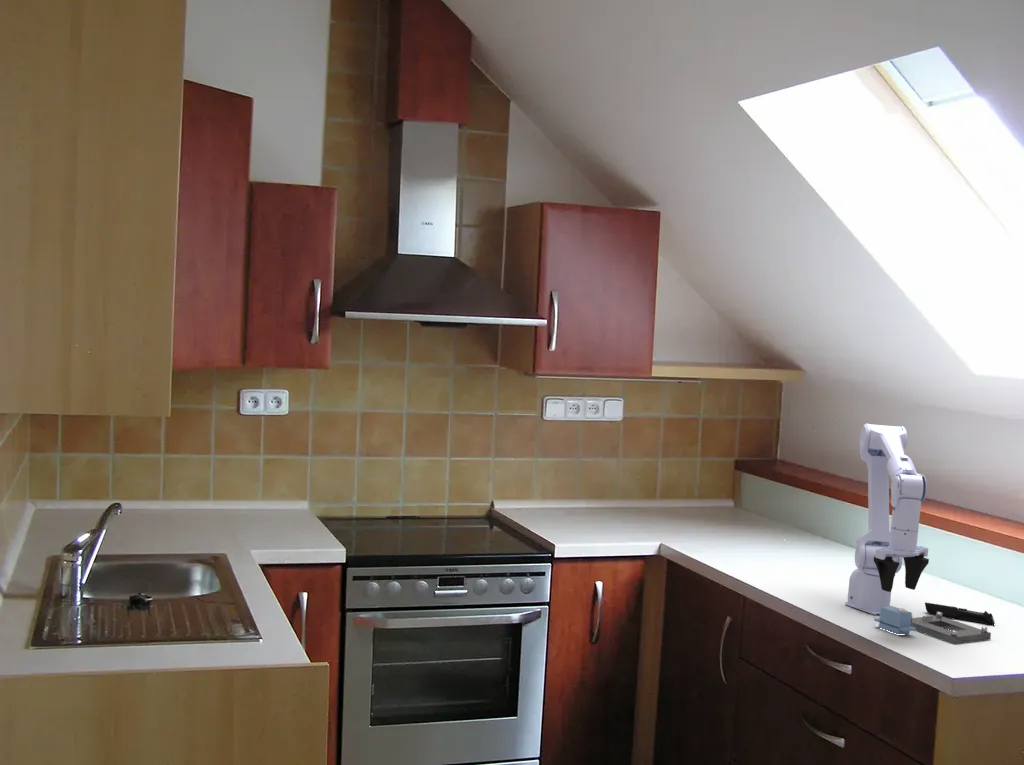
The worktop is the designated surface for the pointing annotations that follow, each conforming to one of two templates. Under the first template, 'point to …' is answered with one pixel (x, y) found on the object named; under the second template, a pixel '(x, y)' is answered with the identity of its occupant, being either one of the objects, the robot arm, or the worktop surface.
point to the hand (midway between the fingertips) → (898, 589)
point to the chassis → (957, 633)
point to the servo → (895, 620)
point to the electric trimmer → (960, 613)
